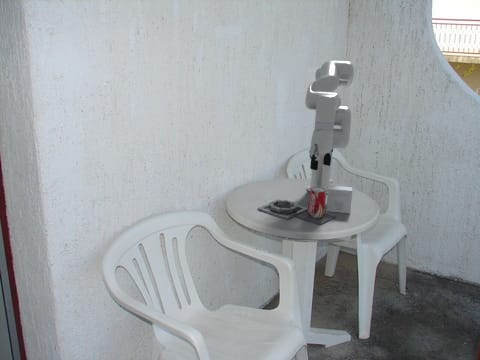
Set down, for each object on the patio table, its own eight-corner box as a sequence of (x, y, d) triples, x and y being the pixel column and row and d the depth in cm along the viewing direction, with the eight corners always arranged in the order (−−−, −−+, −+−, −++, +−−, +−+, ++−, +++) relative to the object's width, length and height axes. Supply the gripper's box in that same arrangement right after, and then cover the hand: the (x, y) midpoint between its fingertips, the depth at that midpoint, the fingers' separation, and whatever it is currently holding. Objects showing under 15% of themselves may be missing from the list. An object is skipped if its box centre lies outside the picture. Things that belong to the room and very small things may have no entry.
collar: (279, 201, 213) (279, 196, 212) (308, 210, 203) (309, 204, 202) (257, 209, 202) (257, 204, 201) (287, 219, 192) (287, 214, 191)
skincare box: (349, 208, 207) (352, 186, 204) (350, 214, 201) (352, 191, 198) (326, 206, 209) (328, 184, 206) (325, 211, 203) (328, 188, 200)
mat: (311, 210, 203) (311, 209, 203) (335, 217, 196) (335, 216, 195) (296, 217, 194) (296, 215, 194) (320, 225, 187) (320, 223, 187)
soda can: (324, 220, 191) (326, 192, 187) (306, 218, 192) (309, 191, 189) (324, 214, 198) (326, 187, 194) (307, 212, 199) (309, 186, 195)
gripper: (327, 122, 192) (323, 161, 197) (304, 127, 180) (300, 169, 185) (343, 124, 187) (339, 165, 193) (320, 130, 175) (316, 173, 180)
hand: (320, 167), depth 189 cm, fingers open, 9 cm apart
